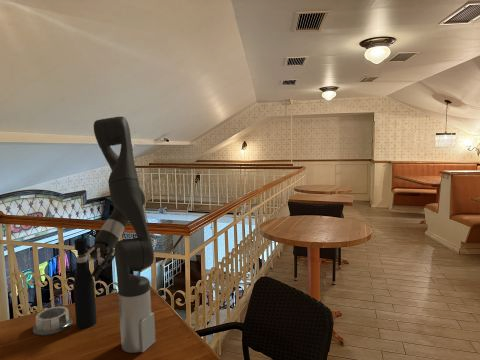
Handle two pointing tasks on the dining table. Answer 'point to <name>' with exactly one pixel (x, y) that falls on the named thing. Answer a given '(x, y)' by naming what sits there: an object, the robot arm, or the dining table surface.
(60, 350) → the dining table surface
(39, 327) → the bottle collar
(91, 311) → the black bottle
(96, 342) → the dining table surface
